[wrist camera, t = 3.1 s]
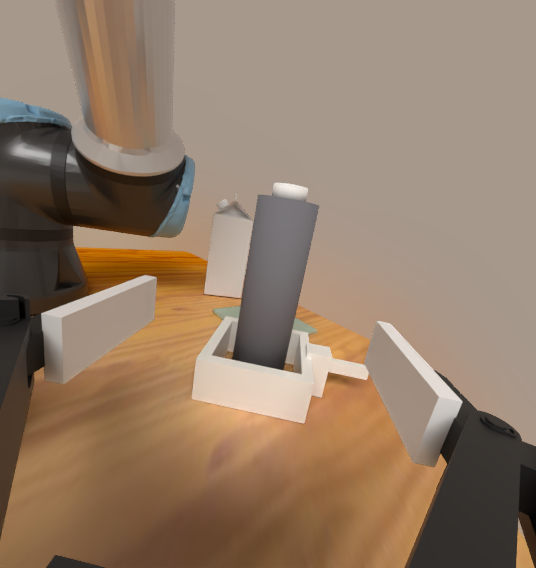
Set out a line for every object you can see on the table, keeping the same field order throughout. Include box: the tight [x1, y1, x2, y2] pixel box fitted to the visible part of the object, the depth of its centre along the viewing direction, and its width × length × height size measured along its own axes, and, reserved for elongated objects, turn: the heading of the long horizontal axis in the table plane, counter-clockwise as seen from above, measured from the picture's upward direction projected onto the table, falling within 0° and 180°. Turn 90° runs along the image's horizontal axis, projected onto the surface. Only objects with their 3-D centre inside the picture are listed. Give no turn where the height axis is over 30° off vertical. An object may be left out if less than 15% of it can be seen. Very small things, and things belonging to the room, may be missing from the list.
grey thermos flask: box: [232, 183, 319, 370], centre depth 25 cm, size 5×5×19 cm
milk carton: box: [204, 194, 253, 298], centre depth 51 cm, size 7×7×19 cm
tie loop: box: [192, 316, 369, 424], centre depth 27 cm, size 16×10×5 cm, turn 85°
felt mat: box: [213, 306, 317, 335], centre depth 42 cm, size 12×12×1 cm
